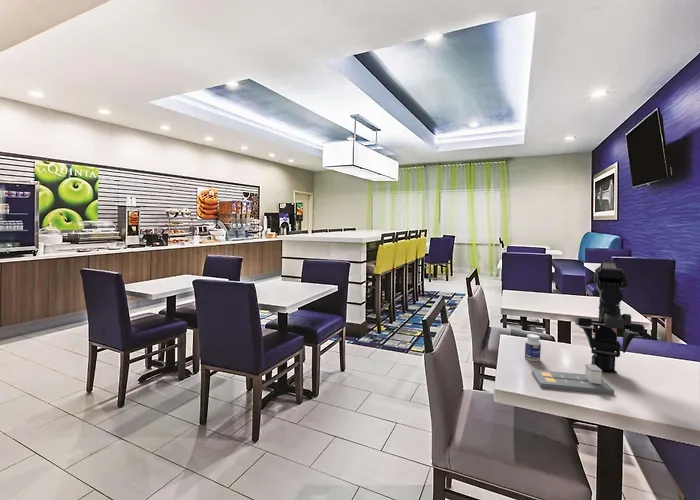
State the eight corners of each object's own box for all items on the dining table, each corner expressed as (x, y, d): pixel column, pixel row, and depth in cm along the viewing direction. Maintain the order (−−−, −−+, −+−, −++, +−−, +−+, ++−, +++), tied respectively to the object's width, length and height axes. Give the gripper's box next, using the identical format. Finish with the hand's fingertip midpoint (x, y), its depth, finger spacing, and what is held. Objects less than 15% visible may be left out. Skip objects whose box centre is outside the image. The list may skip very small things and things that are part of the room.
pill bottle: (534, 362, 145) (535, 338, 145) (521, 358, 150) (522, 334, 150) (543, 360, 148) (544, 336, 147) (530, 355, 153) (531, 332, 152)
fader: (594, 377, 127) (595, 364, 126) (601, 384, 122) (602, 370, 121) (584, 376, 127) (585, 364, 127) (590, 383, 122) (591, 369, 122)
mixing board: (598, 379, 130) (598, 375, 129) (614, 394, 118) (614, 390, 118) (531, 373, 135) (531, 369, 135) (540, 387, 123) (540, 382, 123)
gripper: (582, 302, 120) (580, 349, 119) (652, 309, 113) (650, 359, 112) (576, 301, 130) (573, 344, 129) (639, 307, 123) (637, 353, 122)
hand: (607, 350), depth 123 cm, fingers open, 9 cm apart
